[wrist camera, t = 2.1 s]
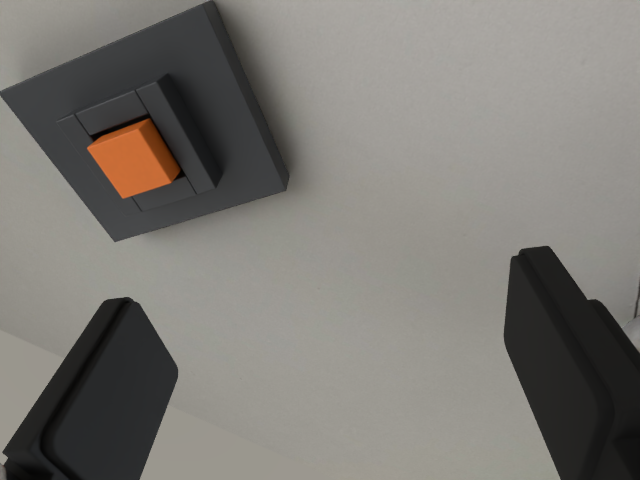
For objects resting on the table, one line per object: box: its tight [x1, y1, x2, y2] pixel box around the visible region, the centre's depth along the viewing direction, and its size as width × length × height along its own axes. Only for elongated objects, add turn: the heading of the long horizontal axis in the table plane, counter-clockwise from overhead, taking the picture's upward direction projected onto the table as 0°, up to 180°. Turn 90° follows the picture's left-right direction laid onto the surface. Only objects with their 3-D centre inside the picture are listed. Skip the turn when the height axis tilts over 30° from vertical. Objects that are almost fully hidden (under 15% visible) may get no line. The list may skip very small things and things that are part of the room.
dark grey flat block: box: [0, 0, 289, 242], centre depth 23 cm, size 10×12×4 cm
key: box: [87, 119, 181, 199], centre depth 21 cm, size 3×3×2 cm
